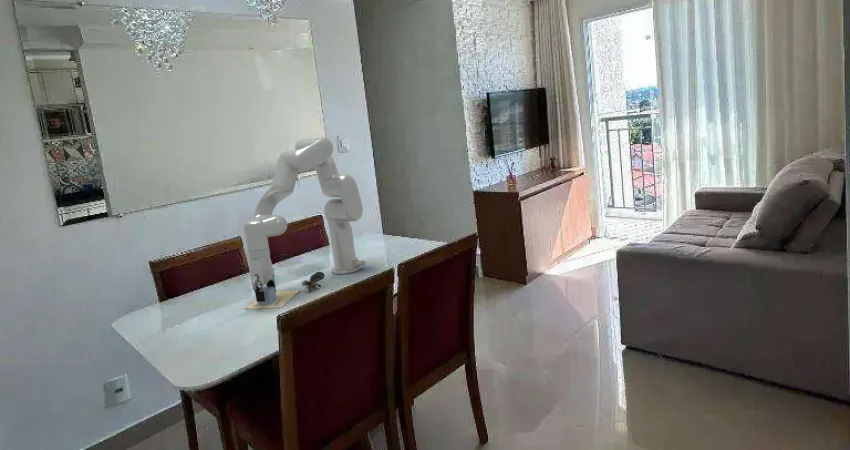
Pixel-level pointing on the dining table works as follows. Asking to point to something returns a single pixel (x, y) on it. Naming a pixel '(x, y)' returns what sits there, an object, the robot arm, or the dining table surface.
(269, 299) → the blue block
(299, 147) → the robot arm
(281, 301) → the letter
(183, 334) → the dining table surface
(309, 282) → the squirrel figurine
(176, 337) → the dining table surface
